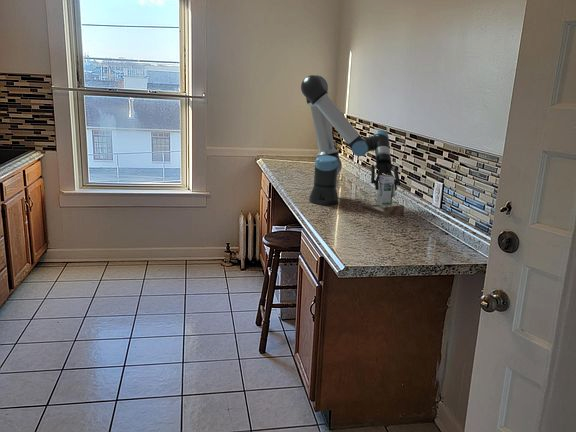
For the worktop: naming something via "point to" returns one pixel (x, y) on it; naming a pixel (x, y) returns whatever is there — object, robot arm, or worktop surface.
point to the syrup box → (385, 190)
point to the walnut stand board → (386, 209)
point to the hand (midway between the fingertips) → (386, 195)
